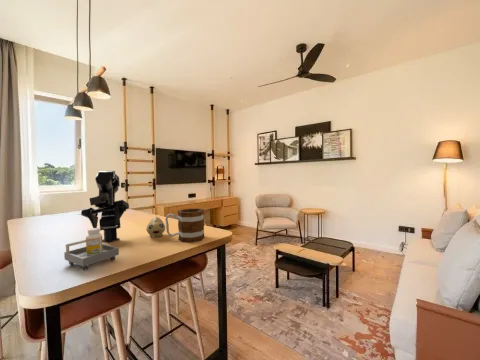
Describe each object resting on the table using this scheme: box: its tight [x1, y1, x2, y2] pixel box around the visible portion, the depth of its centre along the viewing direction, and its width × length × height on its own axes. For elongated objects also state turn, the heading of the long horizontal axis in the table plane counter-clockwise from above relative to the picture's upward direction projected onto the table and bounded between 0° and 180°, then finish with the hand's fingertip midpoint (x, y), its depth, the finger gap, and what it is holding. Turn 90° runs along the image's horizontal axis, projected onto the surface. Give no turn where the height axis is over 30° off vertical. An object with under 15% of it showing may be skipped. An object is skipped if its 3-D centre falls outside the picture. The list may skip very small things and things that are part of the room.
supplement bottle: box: [85, 227, 103, 256], centre depth 89 cm, size 5×5×10 cm
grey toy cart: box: [63, 239, 120, 271], centre depth 89 cm, size 14×13×8 cm
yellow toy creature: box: [145, 216, 166, 238], centre depth 124 cm, size 10×12×11 cm
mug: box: [165, 208, 206, 243], centre depth 119 cm, size 20×14×15 cm
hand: (105, 227), depth 100 cm, fingers open, 9 cm apart
